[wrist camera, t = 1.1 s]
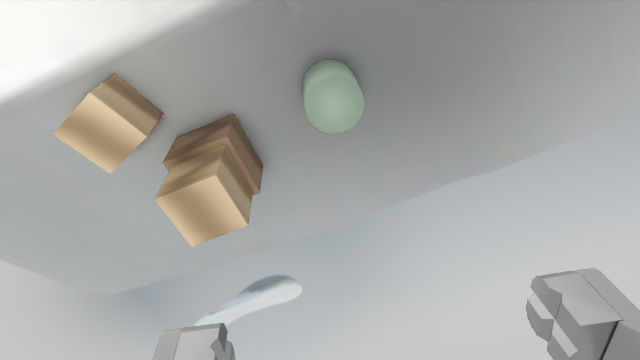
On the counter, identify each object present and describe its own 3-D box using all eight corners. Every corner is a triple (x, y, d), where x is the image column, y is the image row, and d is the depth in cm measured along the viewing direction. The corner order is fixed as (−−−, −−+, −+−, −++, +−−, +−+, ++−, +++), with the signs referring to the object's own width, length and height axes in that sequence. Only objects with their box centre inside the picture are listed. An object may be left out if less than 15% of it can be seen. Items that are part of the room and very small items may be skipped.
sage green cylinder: (345, 50, 34) (353, 66, 29) (362, 99, 36) (372, 120, 32) (294, 71, 34) (295, 90, 30) (314, 118, 37) (317, 142, 33)
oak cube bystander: (114, 72, 33) (89, 92, 29) (163, 113, 35) (146, 136, 31) (82, 110, 35) (53, 134, 31) (130, 146, 37) (110, 173, 33)
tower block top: (225, 143, 32) (215, 174, 28) (252, 190, 35) (248, 225, 30) (171, 165, 33) (154, 199, 28) (202, 209, 35) (191, 246, 31)
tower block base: (234, 113, 36) (226, 136, 32) (262, 165, 39) (259, 192, 35) (176, 137, 37) (162, 162, 33) (209, 186, 40) (200, 215, 36)
